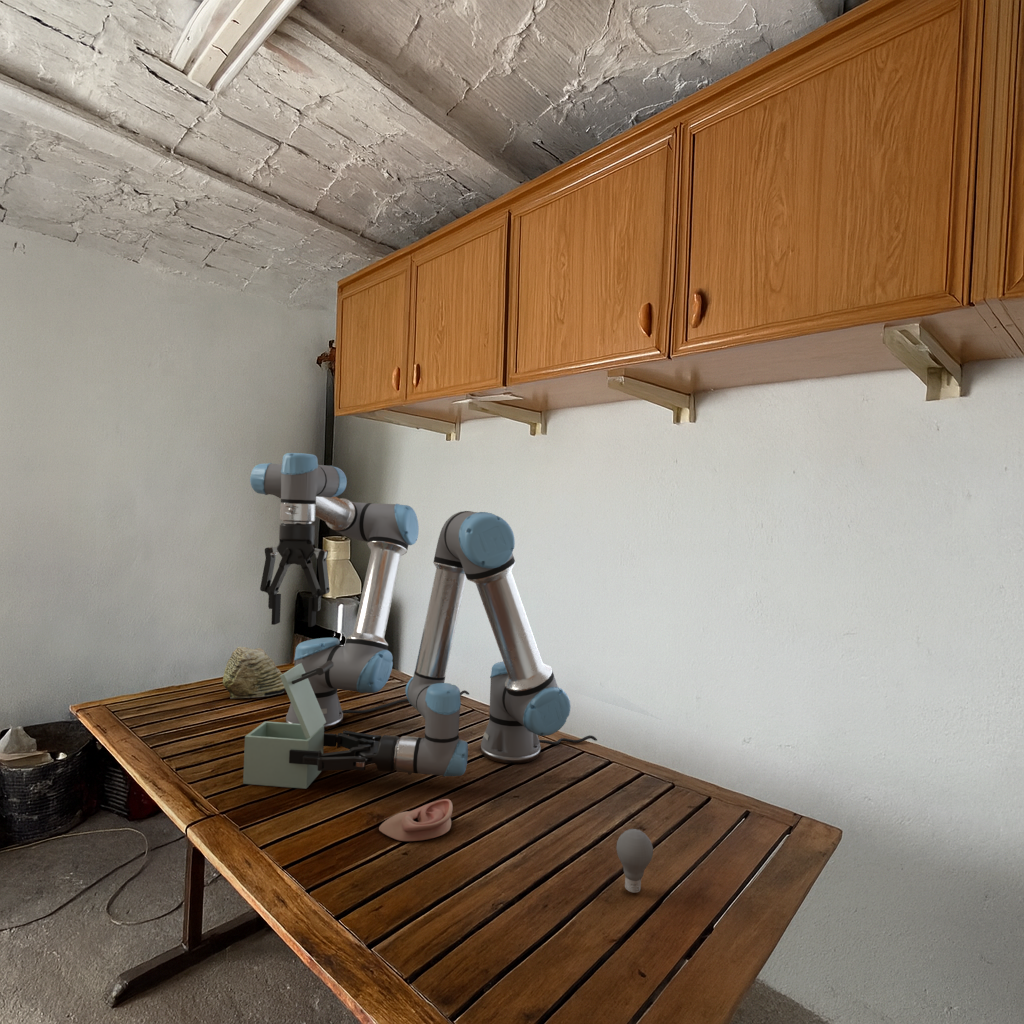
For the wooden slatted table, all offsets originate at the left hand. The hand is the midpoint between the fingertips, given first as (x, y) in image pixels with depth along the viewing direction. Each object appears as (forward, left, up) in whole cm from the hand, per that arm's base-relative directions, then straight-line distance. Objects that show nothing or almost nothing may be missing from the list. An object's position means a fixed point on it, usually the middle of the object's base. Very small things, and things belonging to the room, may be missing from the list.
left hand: (293, 624), depth 142 cm
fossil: (-25, -58, -34) cm, 72 cm away
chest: (0, -1, -34) cm, 34 cm away
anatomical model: (-5, +37, -34) cm, 51 cm away
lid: (-1, +2, -17) cm, 17 cm away
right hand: (-1, +2, -27) cm, 28 cm away
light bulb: (-16, +78, -34) cm, 87 cm away
